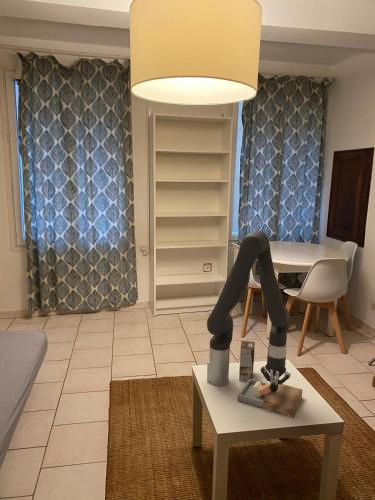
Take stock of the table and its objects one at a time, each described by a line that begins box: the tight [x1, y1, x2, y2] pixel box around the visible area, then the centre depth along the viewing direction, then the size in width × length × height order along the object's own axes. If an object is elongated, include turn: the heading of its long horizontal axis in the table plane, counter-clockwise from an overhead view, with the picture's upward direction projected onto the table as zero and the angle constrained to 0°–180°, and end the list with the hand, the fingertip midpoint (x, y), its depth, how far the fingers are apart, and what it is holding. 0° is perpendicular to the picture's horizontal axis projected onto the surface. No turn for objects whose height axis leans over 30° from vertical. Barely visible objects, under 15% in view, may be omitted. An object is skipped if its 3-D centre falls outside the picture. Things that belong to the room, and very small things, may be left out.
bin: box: [237, 378, 269, 410], centre depth 167 cm, size 11×15×3 cm
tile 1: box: [253, 381, 262, 397], centre depth 167 cm, size 4×4×2 cm
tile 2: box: [259, 383, 271, 395], centre depth 165 cm, size 4×4×2 cm
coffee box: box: [238, 340, 256, 382], centre depth 182 cm, size 9×6×16 cm
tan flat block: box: [262, 383, 303, 419], centre depth 162 cm, size 12×16×4 cm
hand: (274, 391), depth 163 cm, fingers closed
